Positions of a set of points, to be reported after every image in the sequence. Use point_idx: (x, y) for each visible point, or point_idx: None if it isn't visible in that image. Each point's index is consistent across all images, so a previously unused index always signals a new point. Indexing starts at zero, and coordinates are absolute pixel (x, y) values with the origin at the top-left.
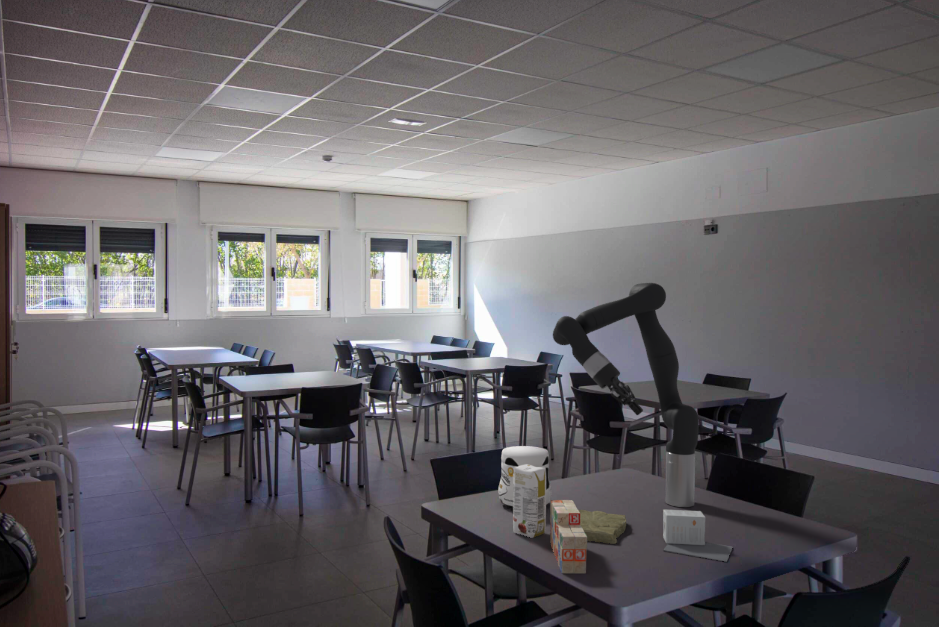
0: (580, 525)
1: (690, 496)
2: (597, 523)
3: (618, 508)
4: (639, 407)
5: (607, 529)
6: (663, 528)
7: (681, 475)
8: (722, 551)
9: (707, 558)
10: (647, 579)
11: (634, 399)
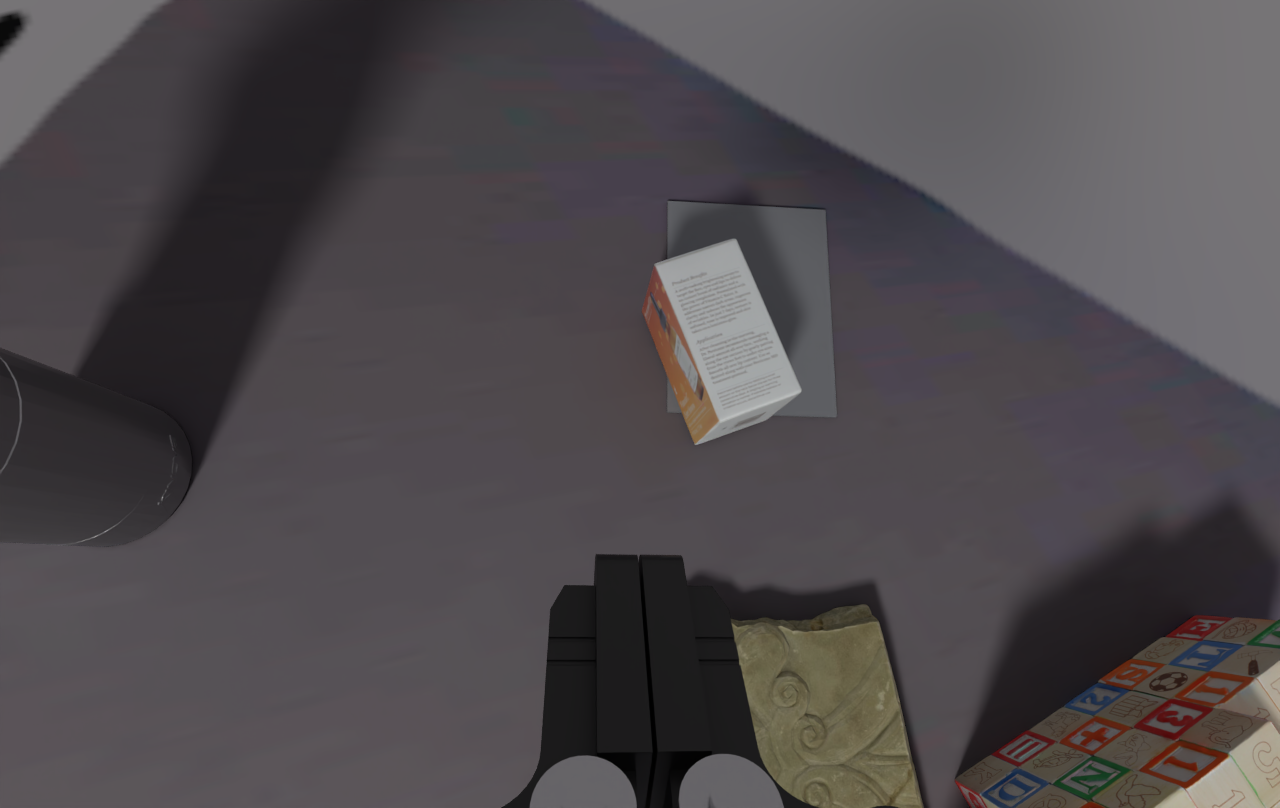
0: (1226, 702)
1: (134, 401)
2: (789, 731)
3: (342, 750)
4: (684, 604)
5: (834, 662)
6: (703, 437)
7: (78, 420)
8: (738, 228)
9: (828, 268)
10: (1110, 415)
11: (593, 783)
